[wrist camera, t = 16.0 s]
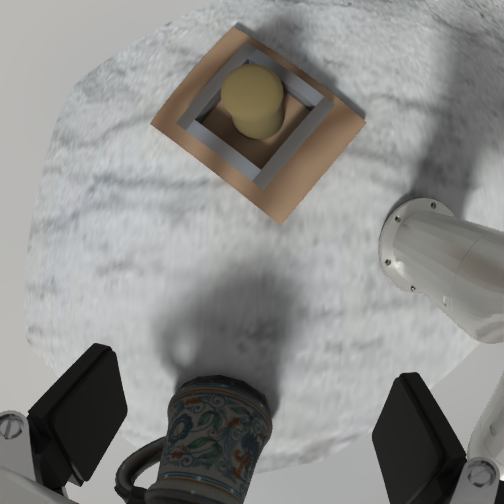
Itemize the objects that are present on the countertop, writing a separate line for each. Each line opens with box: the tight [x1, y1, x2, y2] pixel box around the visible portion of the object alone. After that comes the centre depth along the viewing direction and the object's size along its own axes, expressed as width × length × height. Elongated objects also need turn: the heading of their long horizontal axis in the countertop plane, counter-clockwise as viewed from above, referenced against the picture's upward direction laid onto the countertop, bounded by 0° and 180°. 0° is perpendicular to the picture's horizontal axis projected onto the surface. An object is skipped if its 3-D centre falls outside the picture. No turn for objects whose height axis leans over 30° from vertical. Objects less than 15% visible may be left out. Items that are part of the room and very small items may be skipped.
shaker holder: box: [150, 27, 367, 225], centre depth 31 cm, size 20×16×4 cm
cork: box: [221, 64, 285, 140], centre depth 26 cm, size 6×6×11 cm
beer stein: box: [114, 375, 273, 504], centre depth 32 cm, size 16×19×25 cm
